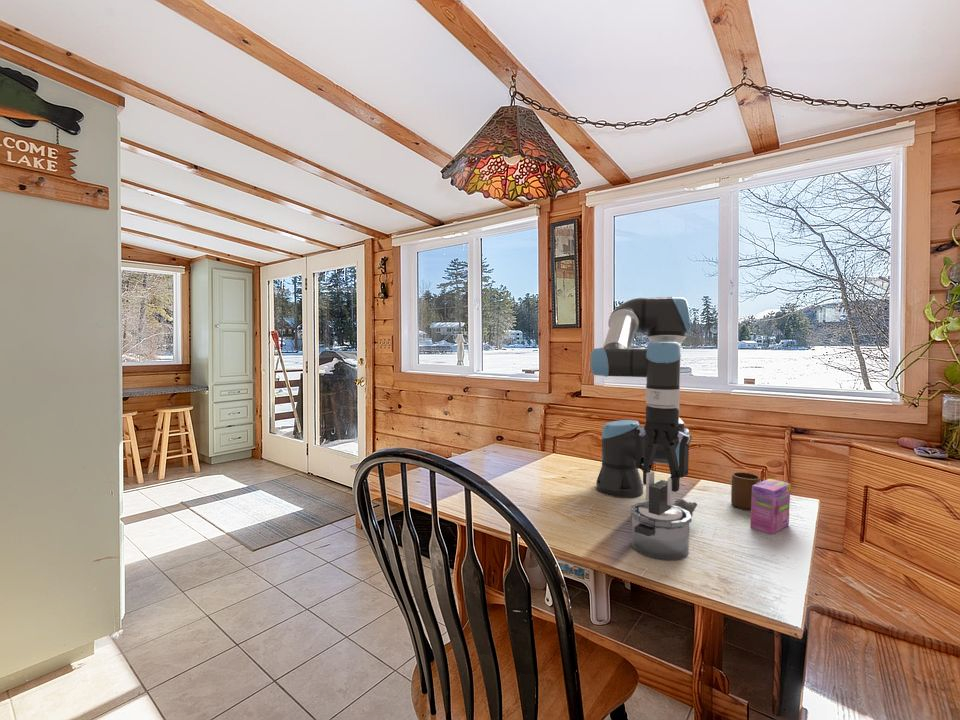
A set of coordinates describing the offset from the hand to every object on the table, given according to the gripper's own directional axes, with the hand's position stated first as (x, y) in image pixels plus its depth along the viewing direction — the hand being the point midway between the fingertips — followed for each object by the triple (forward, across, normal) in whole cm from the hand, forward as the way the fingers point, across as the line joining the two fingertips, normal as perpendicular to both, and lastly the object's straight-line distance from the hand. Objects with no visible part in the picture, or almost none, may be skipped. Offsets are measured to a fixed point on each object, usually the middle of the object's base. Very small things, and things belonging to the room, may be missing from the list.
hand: (660, 500), depth 115 cm
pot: (+12, 0, 0) cm, 12 cm away
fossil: (+12, -3, +17) cm, 21 cm away
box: (+12, +15, +34) cm, 39 cm away
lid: (+4, 0, 0) cm, 4 cm away
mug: (+12, +7, +45) cm, 47 cm away
